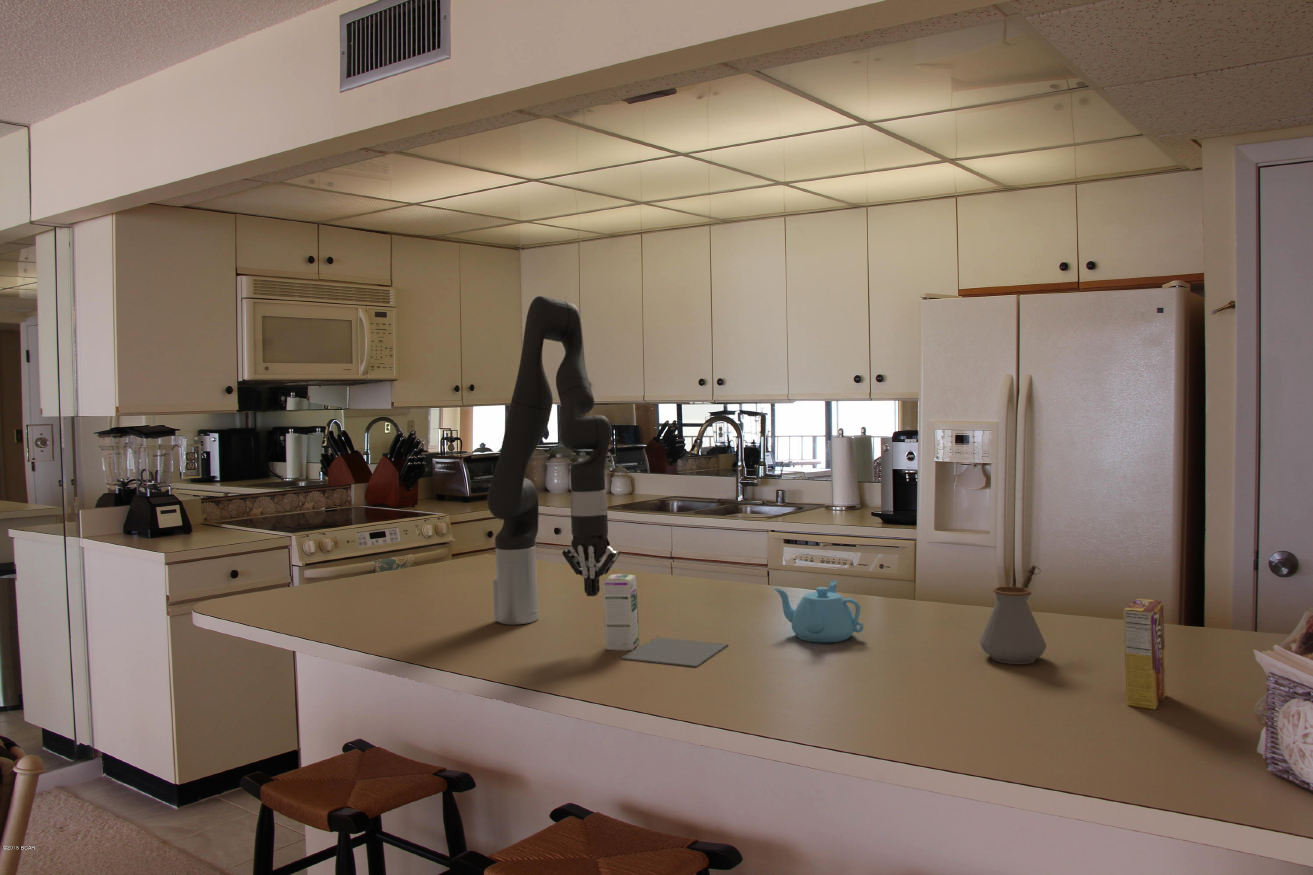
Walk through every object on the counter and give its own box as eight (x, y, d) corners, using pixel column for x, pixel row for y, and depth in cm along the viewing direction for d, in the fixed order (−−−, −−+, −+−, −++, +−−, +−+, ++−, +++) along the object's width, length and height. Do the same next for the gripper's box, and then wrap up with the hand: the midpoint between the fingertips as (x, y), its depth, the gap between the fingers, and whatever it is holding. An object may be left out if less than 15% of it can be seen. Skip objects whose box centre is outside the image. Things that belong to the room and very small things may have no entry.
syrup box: (633, 650, 180) (631, 579, 180) (604, 650, 182) (602, 578, 181) (639, 643, 186) (637, 573, 185) (611, 642, 187) (609, 573, 187)
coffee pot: (1036, 671, 159) (1035, 586, 158) (971, 661, 166) (969, 580, 165) (1067, 643, 176) (1066, 567, 175) (1006, 635, 183) (1005, 562, 182)
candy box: (1137, 690, 147) (1136, 597, 147) (1167, 695, 144) (1166, 600, 144) (1123, 705, 140) (1122, 608, 140) (1154, 710, 138) (1153, 611, 137)
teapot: (873, 641, 182) (872, 591, 182) (807, 649, 177) (806, 598, 177) (836, 625, 196) (835, 578, 196) (773, 632, 191) (772, 584, 191)
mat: (621, 658, 175) (620, 657, 175) (657, 638, 189) (657, 637, 189) (696, 667, 168) (696, 665, 168) (728, 645, 182) (728, 643, 182)
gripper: (552, 513, 185) (555, 597, 186) (608, 515, 179) (611, 601, 180) (571, 509, 192) (574, 590, 193) (625, 510, 186) (629, 593, 187)
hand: (592, 595), depth 186 cm, fingers closed
